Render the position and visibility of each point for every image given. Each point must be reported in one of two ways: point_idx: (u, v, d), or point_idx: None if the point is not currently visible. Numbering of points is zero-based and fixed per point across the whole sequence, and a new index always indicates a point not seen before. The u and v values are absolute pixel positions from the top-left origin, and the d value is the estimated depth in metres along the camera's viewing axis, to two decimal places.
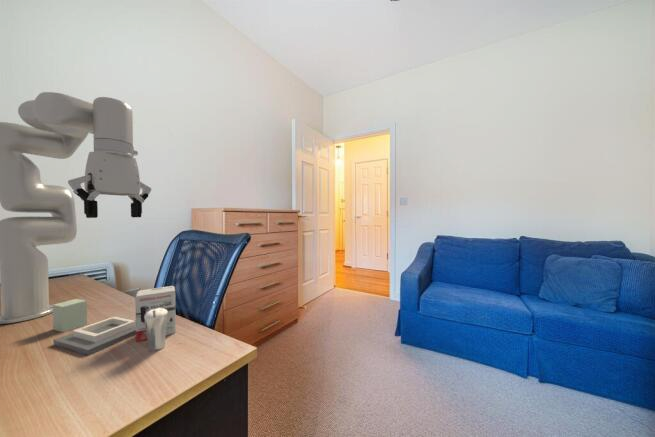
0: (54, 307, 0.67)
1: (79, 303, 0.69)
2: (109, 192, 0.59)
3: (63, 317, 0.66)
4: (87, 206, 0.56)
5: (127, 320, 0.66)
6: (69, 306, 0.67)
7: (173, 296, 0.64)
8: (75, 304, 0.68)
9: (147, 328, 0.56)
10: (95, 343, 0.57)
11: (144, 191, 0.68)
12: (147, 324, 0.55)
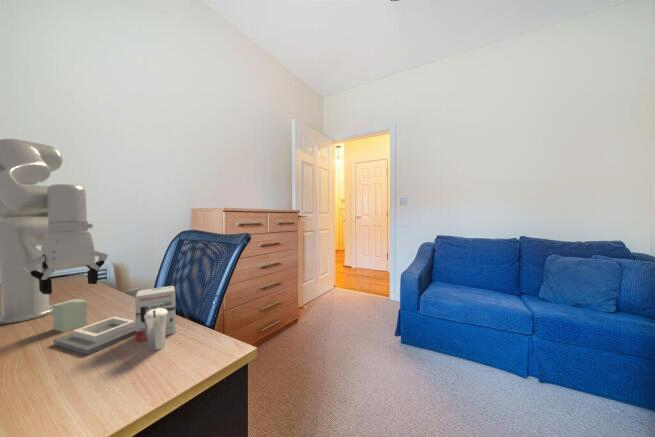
0: (54, 307, 0.67)
1: (79, 303, 0.69)
2: (63, 268, 0.66)
3: (63, 317, 0.66)
4: (41, 285, 0.63)
5: (127, 320, 0.66)
6: (69, 306, 0.67)
7: (172, 296, 0.64)
8: (75, 304, 0.68)
9: (147, 328, 0.56)
10: (95, 343, 0.57)
11: (100, 258, 0.75)
12: (147, 324, 0.55)
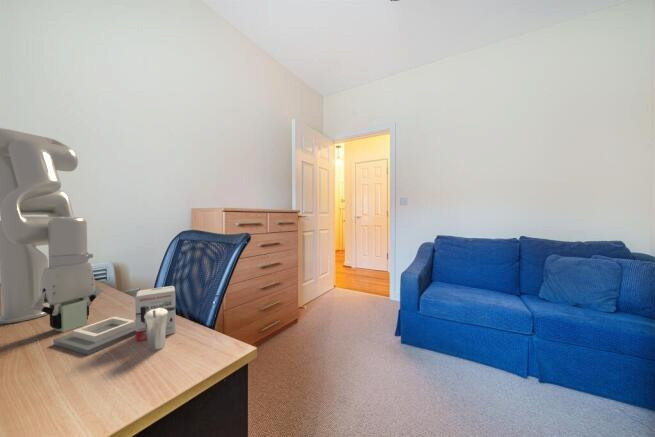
0: None
1: (79, 303, 0.69)
2: (63, 302, 0.66)
3: (63, 317, 0.66)
4: (52, 320, 0.65)
5: (127, 320, 0.66)
6: (69, 306, 0.67)
7: (173, 296, 0.64)
8: (75, 304, 0.68)
9: (147, 328, 0.56)
10: (95, 343, 0.57)
11: (94, 292, 0.74)
12: (147, 324, 0.55)
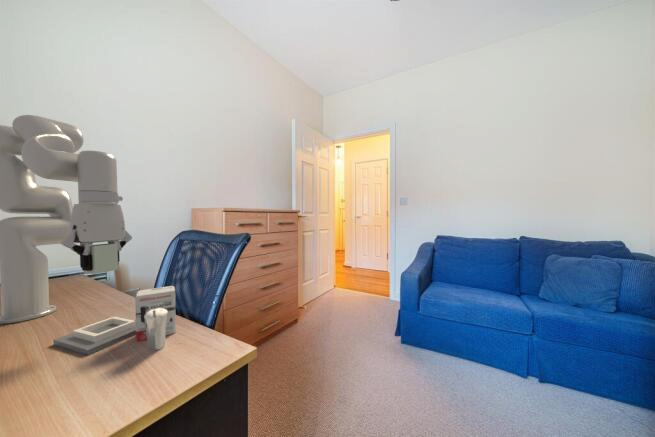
0: None
1: (110, 245, 0.64)
2: (94, 241, 0.61)
3: (94, 258, 0.60)
4: (83, 260, 0.60)
5: (127, 320, 0.66)
6: (100, 246, 0.62)
7: (173, 296, 0.64)
8: (106, 246, 0.63)
9: (147, 328, 0.56)
10: (95, 343, 0.57)
11: (124, 238, 0.69)
12: (147, 324, 0.55)
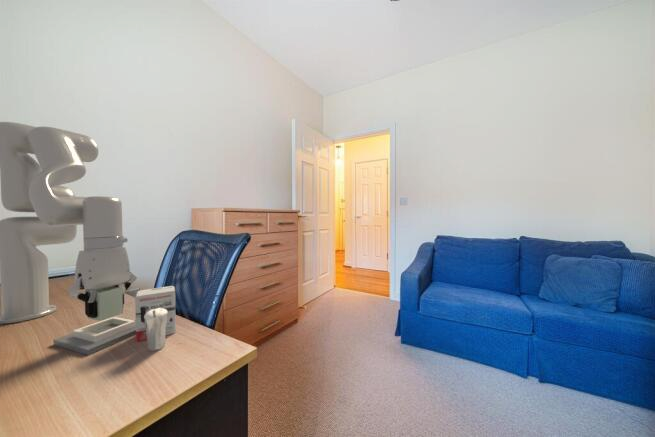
0: None
1: (115, 290, 0.63)
2: (99, 288, 0.61)
3: (99, 305, 0.60)
4: (88, 308, 0.60)
5: (127, 320, 0.66)
6: (106, 293, 0.61)
7: (172, 296, 0.64)
8: (111, 291, 0.63)
9: (147, 328, 0.56)
10: (95, 343, 0.57)
11: (128, 280, 0.68)
12: (147, 324, 0.55)
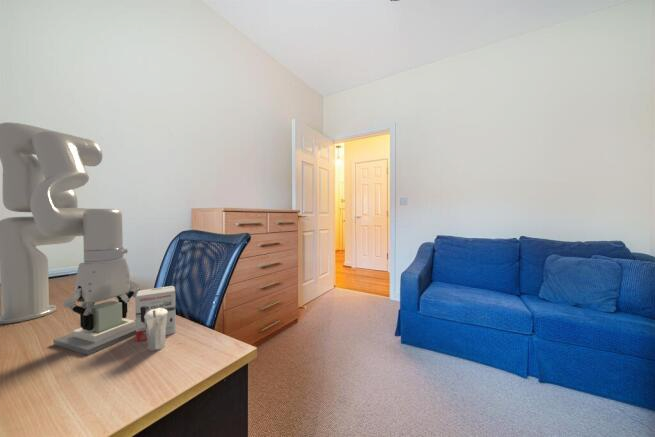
0: None
1: (115, 305, 0.63)
2: (99, 300, 0.61)
3: (99, 321, 0.60)
4: (83, 320, 0.59)
5: (127, 320, 0.66)
6: (105, 309, 0.61)
7: (173, 296, 0.64)
8: (111, 306, 0.63)
9: (147, 328, 0.56)
10: (95, 343, 0.57)
11: (131, 289, 0.69)
12: (147, 324, 0.55)
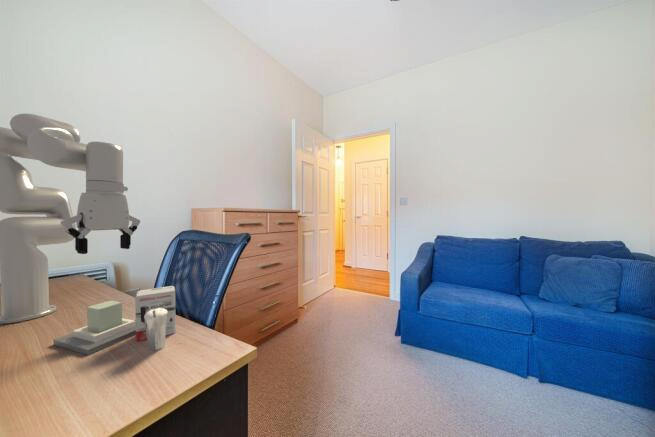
0: (89, 310, 0.62)
1: (115, 305, 0.63)
2: (99, 229, 0.64)
3: (99, 321, 0.60)
4: (78, 243, 0.61)
5: (127, 320, 0.66)
6: (105, 309, 0.61)
7: (173, 296, 0.64)
8: (111, 306, 0.63)
9: (147, 328, 0.56)
10: (95, 343, 0.57)
11: (133, 223, 0.73)
12: (147, 324, 0.55)
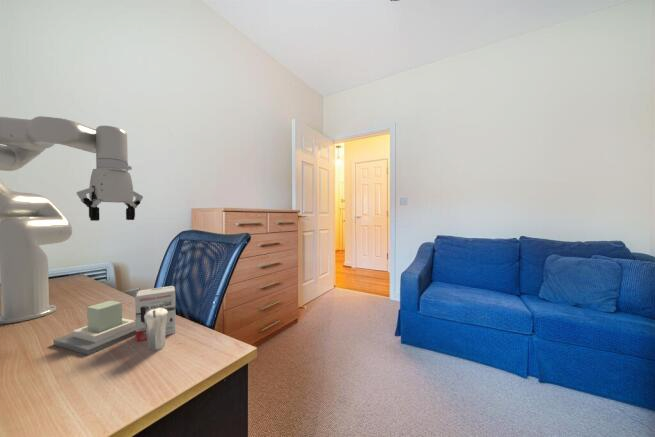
0: (89, 310, 0.62)
1: (115, 305, 0.63)
2: (108, 200, 0.74)
3: (99, 321, 0.60)
4: (91, 211, 0.71)
5: (127, 320, 0.66)
6: (105, 309, 0.61)
7: (173, 296, 0.64)
8: (111, 306, 0.63)
9: (147, 328, 0.56)
10: (95, 343, 0.57)
11: (137, 198, 0.84)
12: (147, 324, 0.55)
